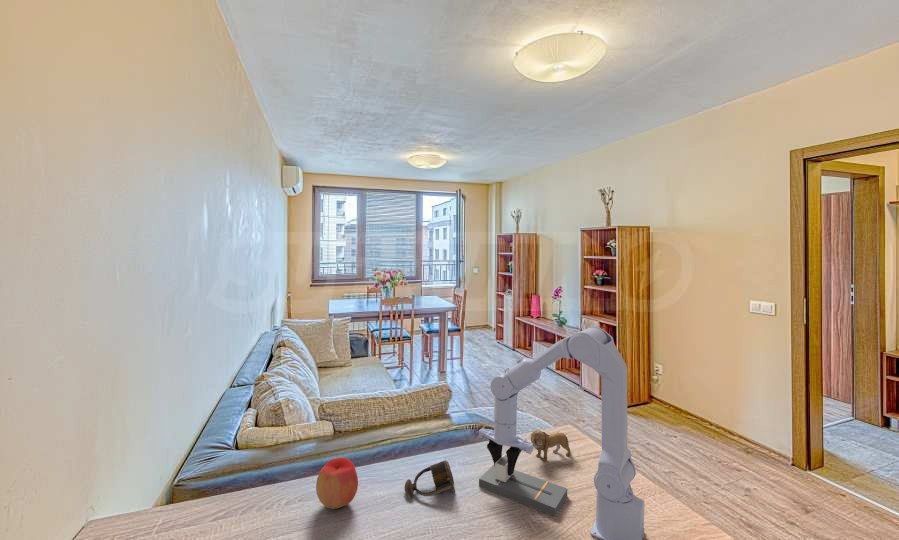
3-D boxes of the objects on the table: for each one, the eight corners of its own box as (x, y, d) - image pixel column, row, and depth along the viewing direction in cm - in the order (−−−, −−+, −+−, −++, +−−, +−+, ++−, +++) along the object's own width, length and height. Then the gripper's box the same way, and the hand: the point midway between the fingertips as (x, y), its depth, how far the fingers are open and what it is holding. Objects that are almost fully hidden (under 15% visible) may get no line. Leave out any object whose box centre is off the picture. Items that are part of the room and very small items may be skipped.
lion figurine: (537, 467, 108) (538, 436, 108) (525, 458, 113) (526, 428, 112) (575, 454, 115) (576, 425, 114) (562, 446, 120) (563, 418, 119)
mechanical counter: (454, 485, 90) (460, 455, 100) (402, 476, 92) (412, 446, 102) (452, 509, 92) (458, 477, 102) (401, 499, 94) (411, 469, 104)
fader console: (567, 496, 95) (567, 488, 95) (555, 516, 88) (555, 507, 88) (495, 469, 106) (495, 462, 106) (478, 486, 99) (479, 478, 99)
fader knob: (513, 473, 101) (514, 457, 101) (505, 482, 97) (505, 466, 97) (503, 469, 103) (503, 454, 103) (494, 478, 99) (495, 462, 98)
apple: (320, 494, 95) (319, 454, 95) (359, 490, 97) (359, 451, 96) (313, 520, 86) (312, 477, 85) (356, 516, 87) (356, 473, 87)
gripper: (538, 421, 98) (536, 473, 99) (487, 408, 106) (487, 456, 107) (527, 432, 93) (526, 487, 93) (475, 417, 101) (474, 467, 101)
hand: (504, 471), depth 100 cm, fingers closed on fader knob, 3 cm apart
